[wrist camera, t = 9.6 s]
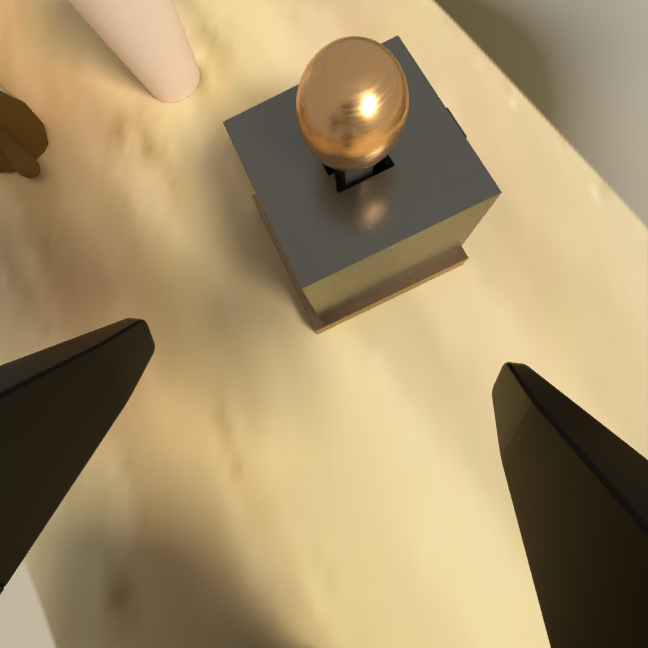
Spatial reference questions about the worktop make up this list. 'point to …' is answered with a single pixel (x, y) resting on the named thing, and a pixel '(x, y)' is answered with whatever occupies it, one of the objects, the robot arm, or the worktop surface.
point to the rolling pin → (20, 137)
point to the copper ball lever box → (365, 202)
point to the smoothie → (146, 43)
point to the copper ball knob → (352, 108)
